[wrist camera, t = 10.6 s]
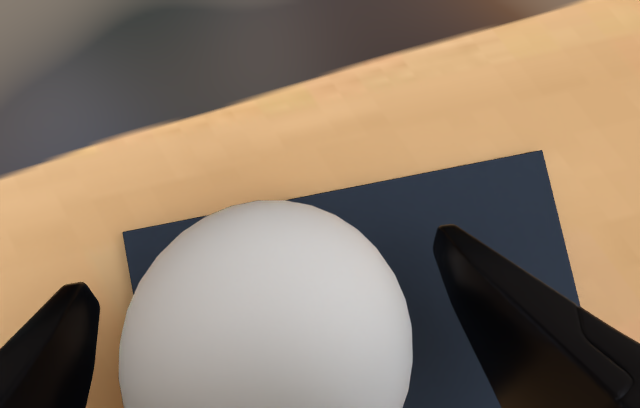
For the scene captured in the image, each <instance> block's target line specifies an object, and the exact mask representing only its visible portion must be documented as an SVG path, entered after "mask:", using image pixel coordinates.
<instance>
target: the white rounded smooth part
mask: <svg viewBox="0 0 640 408" xmlns="http://www.w3.org/2000/svg"><path fill="white" fill-rule="evenodd" d="M412 363H413V350H412V326H411V321H410V317H409V313H408V308H407V304H406V299H405V297H404V295H403V292H402V290H401V288H400V286H399V283H398V281H397V279H396V276H395V274H394V273H393V271H392V270H391V268H390V267H389V265H388V264H387V263H386V261H385V260H384V258H383V257H382V255H381V254H380V252H379V251H378V249H377V248H376V247H375V246H374V245H373V244H372V243H371V242H370V241H369V240H368V239H367V238H366V237H365V236H364V235H363V234H362V233H361V232H360V231H359V230H358V229H356V228H355V227H353V226H352V225H350V224H348V223H347V222H345V221H344V220H342V219H341V218H339V217H338V216H336V215H334V214H332V213H329V212H327V211H324V210H322V209H319V208H317V207H314V206H312V205H307V204H302V203H296V202H291V201H286V200H264V201H253V202H248V203H244V204H239V205H234V206H230V207H228V208H225V209H223V210H220V211H218V212H216V213H213V214H211V215H208V216H206V217H204V218H203V219H201V220H200V221H198V222H197V223H195V224H194V225H192V226H191V227H189V228H187V229H186V230H184V231H183V232H182V233H180V234H179V235H178V236H177V237H176V238H175V239H174V240H173V241H172V242H171V243H170V244H169V245H168V246H167V247H166V248H165V249H164V250H163V251H162V252H161V253H160V254H159V255H158V256H157V257H156V259H155V260H154V262H153V263H152V265H151V266H150V267H149V269H148V270H147V272H146V273H145V275H144V276H143V277H142V279H141V280H140V282H139V284H138V286H137V289H136V291H135V293H134V295H133V298H132V300H131V302H130V304H129V307H128V309H127V313H126V317H125V322H124V326H123V331H122V335H121V339H120V347H119V383H120V389H121V394H122V400H123V406H124V408H403V405H404V402H405V399H406V396H407V393H408V390H409V383H410V376H411V369H412Z"/></svg>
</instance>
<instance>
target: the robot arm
mask: <svg viewBox="0 0 640 408" xmlns="http://www.w3.org/2000/svg"><path fill="white" fill-rule="evenodd" d="M433 254H434V257H435V260H436V263H437V266H438V268H439V271H440V274H441V277H442V280H443V283H444V286H445V288H446V291H447V294H448V297H449V299H450V302H451V305H452V307H453V309H454V311H455V313H456V315H457V317H458V319H459V321H460V324H461V326H462V328H463V330H464V332H465V334H466V336H467V338H468V340H469V342H470V344H471V346H472V348H473V350H474V352H475V354H476V356H477V358H478V361H479V363H480V365H481V367H482V369H483V371H484V373H485V375H486V377H487V379H488V381H489V383H490V385H491V387H492V389H493V391H494V393H495V396H496V398H497V400H498V402H499V404H500V406H501V408H640V343H638V342H636V341H634V340H633V339H631V338H629V337H628V336H626V335H624V334H623V333H621V332H619V331H617V330H616V329H614V328H613V327H611V326H610V325H608V324H606V323H605V322H603V321H602V320H600V319H598V318H597V317H595V316H594V315H592V314H591V313H589V312H588V311H586V310H585V309H583V308H582V307H580V306H577V305H576V304H575V303H574V302H572V301H571V300H569V299H568V298H566V297H565V296H563V295H562V294H560V293H559V292H557V291H555V290H554V289H552V288H551V287H549V286H548V285H546V284H545V283H543V282H542V281H540V280H539V279H537V278H536V277H534V276H533V275H531V274H530V273H528V272H527V271H525V270H524V269H522V268H520V267H519V266H517V265H516V264H514V263H513V262H511V261H510V260H508V259H507V258H505V257H504V256H502V255H501V254H499V253H498V252H496V251H495V250H493V249H492V248H490V247H489V246H487V245H485V244H484V243H482V242H481V241H479V240H478V239H476V238H475V237H473V236H472V235H470V234H469V233H467V232H466V231H464V230H463V229H461V228H460V227H458V226H457V225H455V224H446V225H440V226H439V227H438V228H437V231H436V235H435V239H434V243H433ZM99 314H100V306H99V302H98V300H97V299H96V297H95V296H94V295H93V293H92V292H91V290H90V289H89V287H88V286H87V285H86V284H85V283H83V282H78V283H71V284H66V285H64V286H63V287H61V288H60V289H59V290H58V291H57V292H56V293H55V294H54V295H53V296H52V297H51V298H50V299H49V300H48V301H47V302H46V303H45V304H44V305H43V306H42V307H41V308H40V310H39V311H38V312H37V313H36V314H35V315H34V316H33V317H32V318H31V319H30V320H29V321H28V322H27V323H26V324H25V325H24V326H23V327H22V328H21V329H20V330H19V331H18V332H17V333H16V334H15V335H14V336H13V337H12V338H11V339H10V340H9V341H8V342H7V343H6V344H5V345H4V346H3V347H2V348H1V349H0V408H86V404H87V399H88V395H89V390H90V386H91V381H92V376H93V371H94V364H95V355H96V345H97V335H98V325H99Z"/></svg>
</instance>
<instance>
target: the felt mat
mask: <svg viewBox="0 0 640 408" xmlns="http://www.w3.org/2000/svg"><path fill="white" fill-rule="evenodd" d="M286 201H291V202H296V203H302V204H307V205H312V206H314V207H317V208H319V209H322V210H324V211H327V212H329V213H332V214H334V215H336V216H338V217H339V218H341V219H342V220H344V221H345V222H347V223H348V224H350V225H352V226H353V227H355V228H356V229H358V230H359V231H360V232H361V233H362V234H363V235H364V236H365V237H366V238H367V239H368V240H369V241H370V242H371V243H372V244H373V245H374V246H375V247H376V248H377V249H378V251H379V252H380V254H381V255H382V257H383V258H384V260H385V261H386V263H387V264H388V265H389V267H390V268H391V270H392V271H393V273H394V274H395V276H396V279H397V281H398V283H399V286H400V288H401V290H402V292H403V295H404V297H405V299H406V304H407V308H408V313H409V317H410V321H411V326H412V350H413V363H412V369H411V376H410V383H409V390H408V393H407V396H406V399H405V402H404V405H403V408H501V406H500V404H499V402H498V400H497V398H496V396H495V393H494V391H493V389H492V387H491V385H490V383H489V381H488V379H487V377H486V375H485V373H484V371H483V369H482V367H481V365H480V363H479V361H478V358H477V356H476V354H475V352H474V350H473V348H472V346H471V344H470V342H469V340H468V338H467V336H466V334H465V332H464V330H463V328H462V326H461V324H460V321H459V319H458V317H457V315H456V313H455V311H454V309H453V307H452V305H451V302H450V299H449V297H448V294H447V291H446V288H445V286H444V283H443V280H442V277H441V274H440V271H439V268H438V266H437V263H436V260H435V257H434V254H433V243H434V239H435V235H436V231H437V228H438V227H439V226H440V225H446V224H455V225H457V226H458V227H460V228H461V229H463V230H464V231H466V232H467V233H469V234H470V235H472V236H473V237H475V238H476V239H478V240H479V241H481V242H482V243H484V244H485V245H487V246H489V247H490V248H492V249H493V250H495V251H496V252H498V253H499V254H501V255H502V256H504V257H505V258H507V259H508V260H510V261H511V262H513V263H514V264H516V265H517V266H519V267H520V268H522V269H524V270H525V271H527V272H528V273H530V274H531V275H533V276H534V277H536V278H537V279H539V280H540V281H542V282H543V283H545V284H546V285H548V286H549V287H551V288H552V289H554V290H555V291H557V292H559V293H560V294H562V295H563V296H565V297H566V298H568V299H569V300H571V301H572V302H574V303H575V304H576V305H577V306H580V303H579V299H578V295H577V291H576V287H575V283H574V278H573V274H572V270H571V266H570V262H569V258H568V254H567V250H566V246H565V242H564V238H563V234H562V229H561V225H560V221H559V217H558V213H557V209H556V205H555V201H554V197H553V193H552V189H551V184H550V180H549V176H548V172H547V168H546V164H545V160H544V156H543V152H542V150H540V151H535V152H530V153H525V154H520V155H514V156H509V157H504V158H499V159H494V160H489V161H484V162H479V163H474V164H468V165H463V166H458V167H453V168H448V169H443V170H438V171H433V172H428V173H422V174H417V175H412V176H407V177H402V178H397V179H392V180H387V181H382V182H376V183H371V184H366V185H361V186H356V187H351V188H346V189H341V190H335V191H330V192H325V193H320V194H315V195H310V196H305V197H300V198H295V199H289V200H286ZM204 217H206V216H203V217H197V218H192V219H187V220H182V221H177V222H172V223H167V224H162V225H157V226H151V227H146V228H141V229H136V230H131V231H126V232H123V238H124V244H125V250H126V256H127V261H128V267H129V273H130V279H131V285H132V290H133V295H134V293H135V291H136V289H137V286H138V284H139V282H140V280H141V279H142V277H143V276H144V275H145V273H146V272H147V270H148V269H149V267H150V266H151V265H152V263H153V262H154V260H155V259H156V257H157V256H158V255H159V254H160V253H161V252H162V251H163V250H164V249H165V248H166V247H167V246H168V245H169V244H170V243H171V242H172V241H173V240H174V239H175V238H176V237H177V236H178V235H179V234H180V233H182V232H183V231H184V230H186V229H187V228H189V227H191V226H192V225H194V224H195V223H197V222H198V221H200V220H201V219H203V218H204Z"/></svg>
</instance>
